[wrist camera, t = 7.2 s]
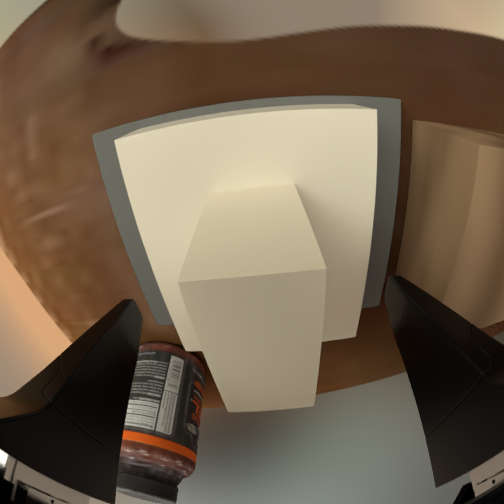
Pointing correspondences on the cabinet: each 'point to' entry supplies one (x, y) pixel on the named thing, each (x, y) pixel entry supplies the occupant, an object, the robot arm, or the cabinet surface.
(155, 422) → the supplement bottle
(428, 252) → the storage box
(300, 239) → the lid
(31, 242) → the cabinet surface
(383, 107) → the mat
